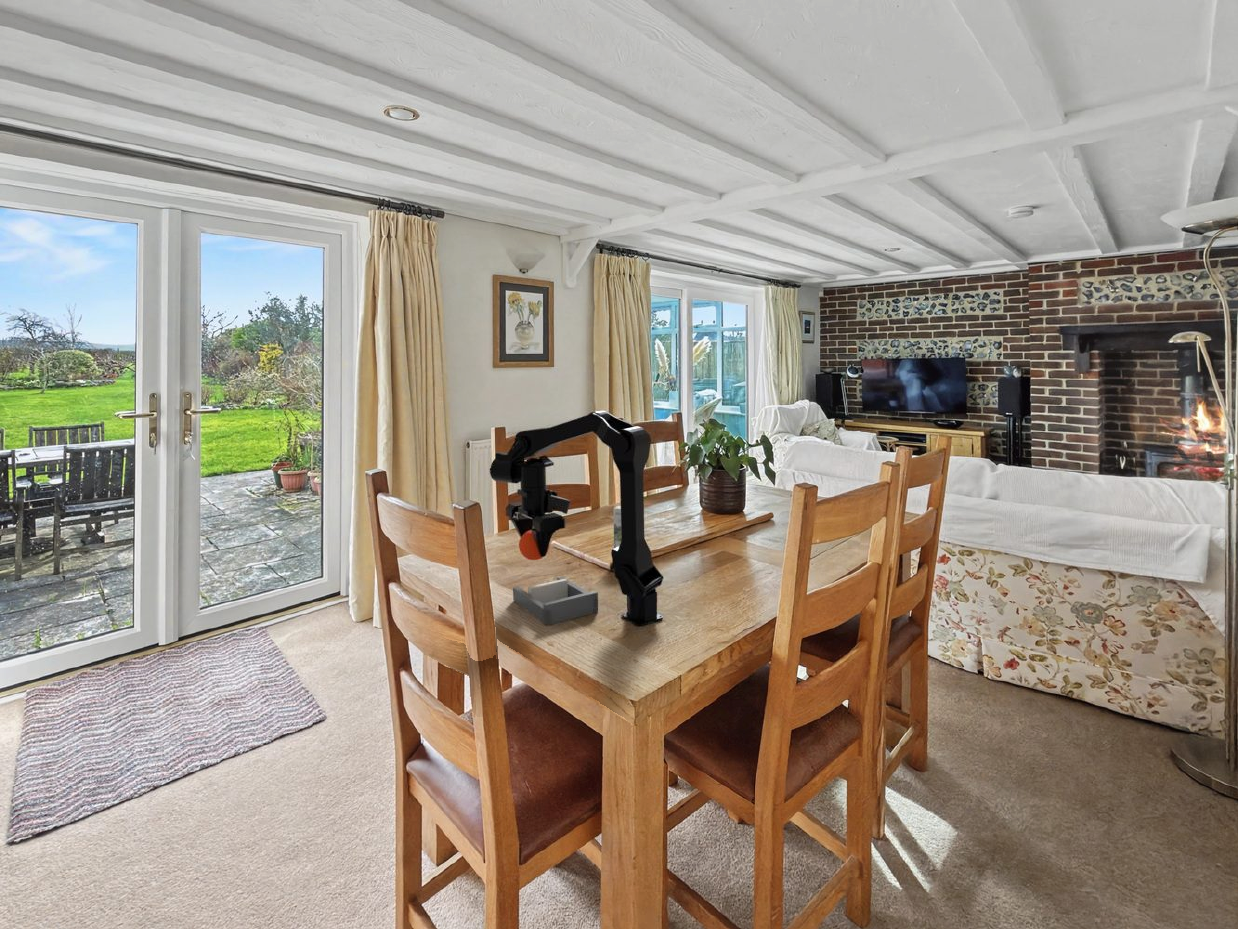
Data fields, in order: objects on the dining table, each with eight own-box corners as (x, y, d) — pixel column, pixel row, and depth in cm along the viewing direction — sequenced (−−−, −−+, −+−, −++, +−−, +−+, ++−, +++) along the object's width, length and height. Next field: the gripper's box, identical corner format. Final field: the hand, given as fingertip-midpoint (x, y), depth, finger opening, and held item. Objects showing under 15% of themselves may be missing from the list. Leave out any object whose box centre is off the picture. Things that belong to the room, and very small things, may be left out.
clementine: (559, 557, 144) (558, 527, 143) (544, 566, 138) (542, 534, 137) (530, 553, 147) (528, 524, 146) (513, 562, 141) (511, 532, 140)
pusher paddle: (567, 597, 142) (567, 580, 141) (530, 606, 136) (530, 588, 136) (565, 595, 143) (564, 578, 142) (528, 604, 137) (527, 587, 137)
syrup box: (642, 557, 170) (642, 505, 168) (631, 563, 165) (630, 509, 163) (624, 553, 173) (624, 502, 171) (613, 559, 168) (612, 507, 166)
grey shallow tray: (598, 611, 134) (597, 592, 133) (546, 625, 127) (545, 605, 126) (562, 589, 147) (561, 571, 146) (513, 600, 140) (512, 582, 139)
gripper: (585, 487, 137) (587, 556, 140) (546, 475, 152) (548, 537, 155) (539, 494, 131) (542, 565, 133) (503, 480, 146) (506, 545, 149)
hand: (535, 552), depth 143 cm, fingers closed on clementine, 7 cm apart
